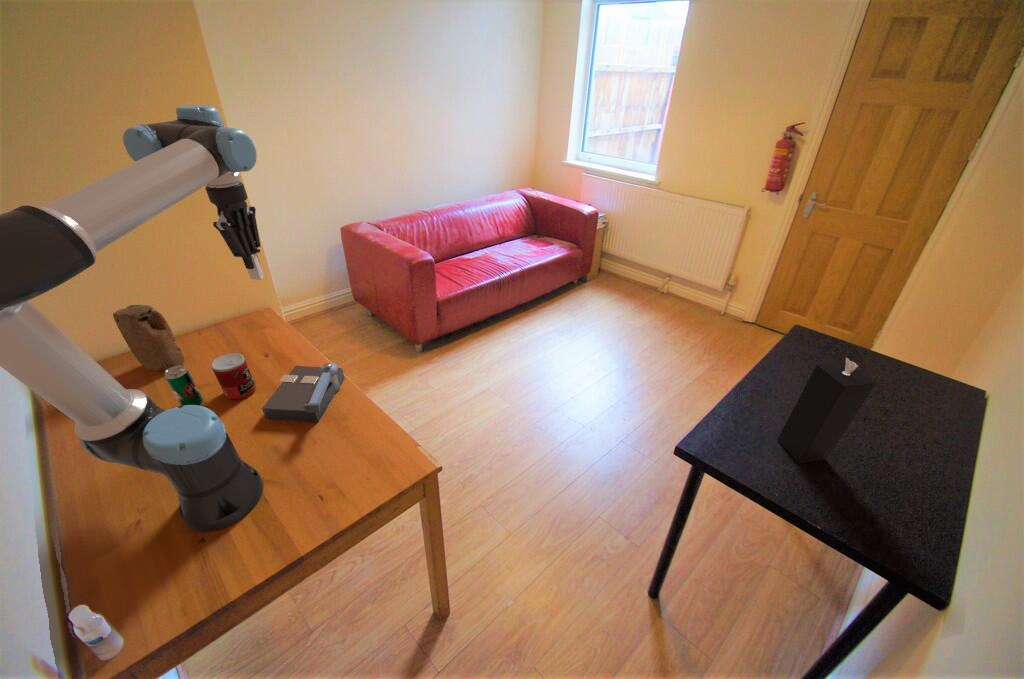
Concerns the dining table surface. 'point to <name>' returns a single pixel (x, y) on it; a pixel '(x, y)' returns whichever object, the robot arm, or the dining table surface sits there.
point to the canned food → (234, 376)
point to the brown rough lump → (148, 337)
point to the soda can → (183, 386)
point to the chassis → (301, 394)
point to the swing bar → (320, 388)
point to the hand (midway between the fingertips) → (257, 278)
